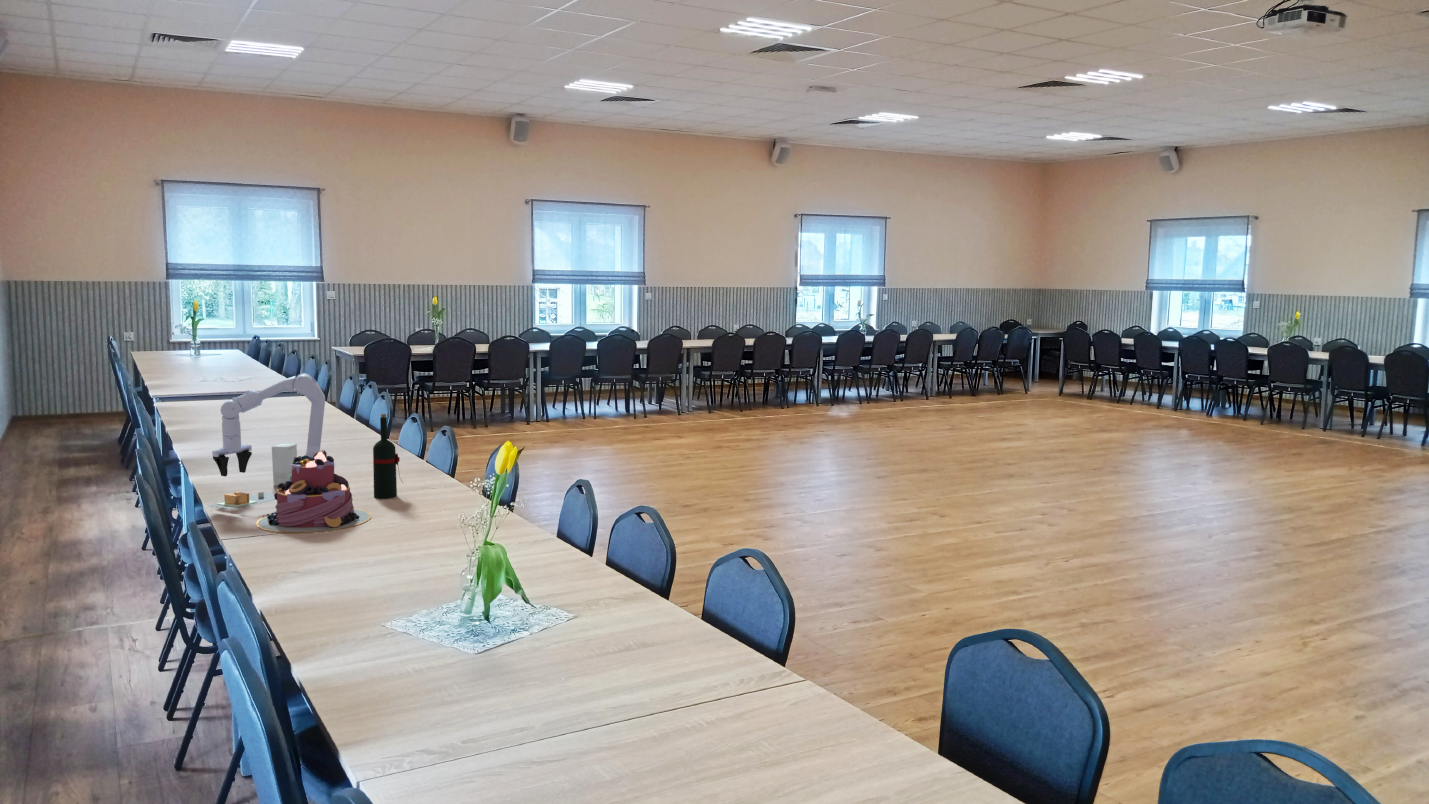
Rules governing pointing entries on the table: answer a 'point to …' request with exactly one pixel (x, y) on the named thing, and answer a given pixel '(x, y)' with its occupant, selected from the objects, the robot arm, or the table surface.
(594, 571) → the table surface
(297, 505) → the wedding cake
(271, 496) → the peg board
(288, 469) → the skincare box
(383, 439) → the wine bottle
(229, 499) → the c link
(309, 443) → the robot arm
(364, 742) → the table surface
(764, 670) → the table surface
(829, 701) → the table surface
